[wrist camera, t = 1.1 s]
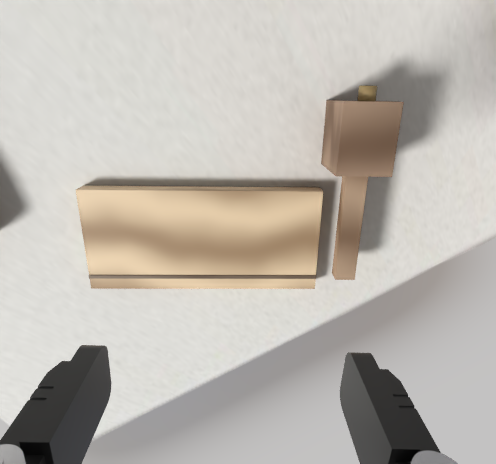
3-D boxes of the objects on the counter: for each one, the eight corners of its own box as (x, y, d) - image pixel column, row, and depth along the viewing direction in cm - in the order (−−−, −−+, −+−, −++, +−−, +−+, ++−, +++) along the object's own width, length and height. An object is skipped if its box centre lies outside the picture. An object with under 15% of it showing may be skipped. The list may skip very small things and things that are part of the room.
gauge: (327, 86, 28) (345, 84, 23) (378, 87, 28) (406, 85, 24) (312, 261, 33) (324, 287, 29) (355, 261, 34) (374, 287, 29)
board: (83, 185, 30) (75, 190, 29) (319, 187, 31) (323, 192, 29) (97, 280, 34) (91, 289, 32) (311, 280, 34) (314, 289, 33)
